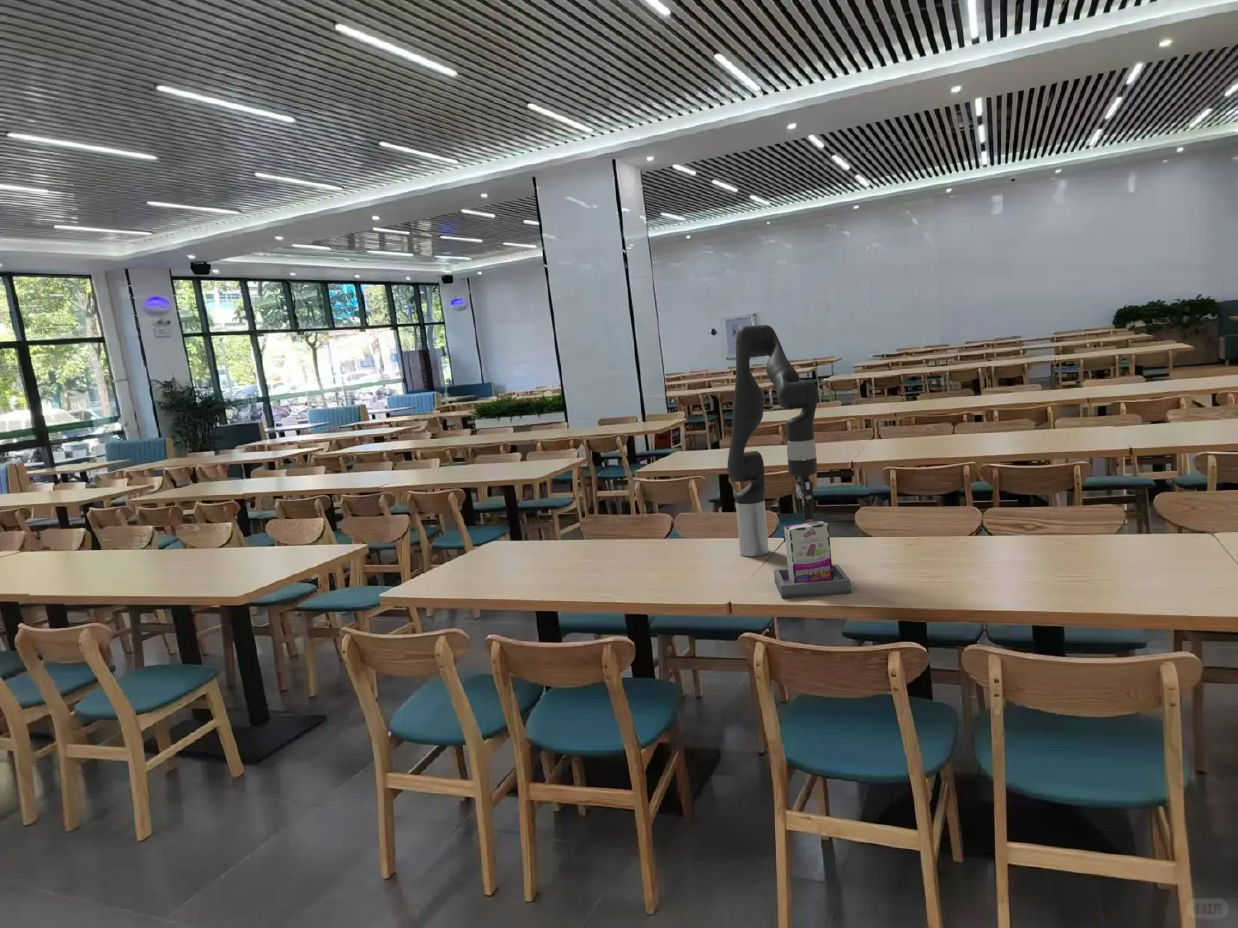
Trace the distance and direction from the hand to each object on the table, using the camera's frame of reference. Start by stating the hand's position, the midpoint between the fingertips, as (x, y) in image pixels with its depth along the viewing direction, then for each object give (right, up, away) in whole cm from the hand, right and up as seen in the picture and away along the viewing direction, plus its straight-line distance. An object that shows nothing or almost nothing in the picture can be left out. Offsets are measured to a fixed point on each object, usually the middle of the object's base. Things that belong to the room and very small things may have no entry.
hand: (806, 515), depth 215 cm
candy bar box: (+2, -19, +3) cm, 19 cm away
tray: (+2, -20, +3) cm, 20 cm away
